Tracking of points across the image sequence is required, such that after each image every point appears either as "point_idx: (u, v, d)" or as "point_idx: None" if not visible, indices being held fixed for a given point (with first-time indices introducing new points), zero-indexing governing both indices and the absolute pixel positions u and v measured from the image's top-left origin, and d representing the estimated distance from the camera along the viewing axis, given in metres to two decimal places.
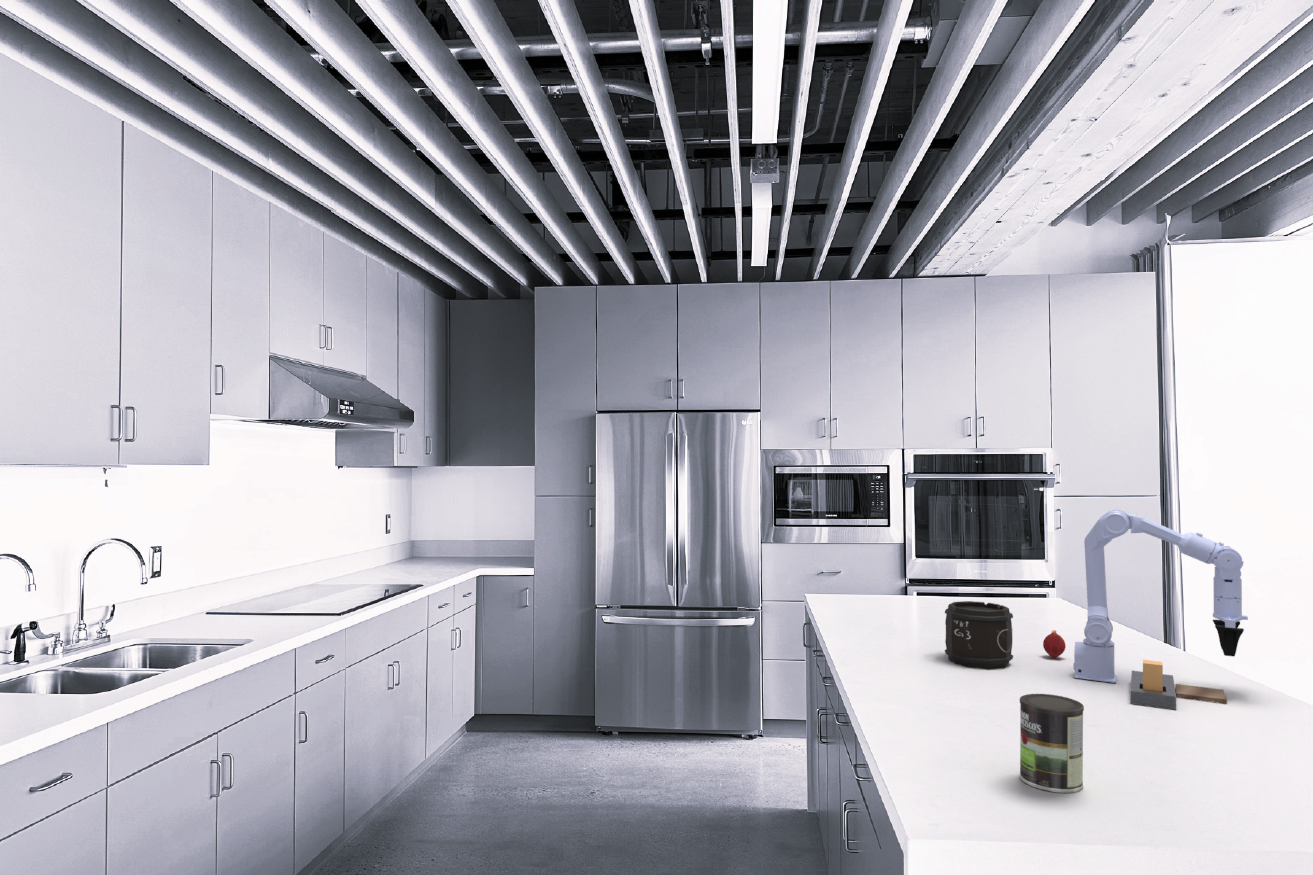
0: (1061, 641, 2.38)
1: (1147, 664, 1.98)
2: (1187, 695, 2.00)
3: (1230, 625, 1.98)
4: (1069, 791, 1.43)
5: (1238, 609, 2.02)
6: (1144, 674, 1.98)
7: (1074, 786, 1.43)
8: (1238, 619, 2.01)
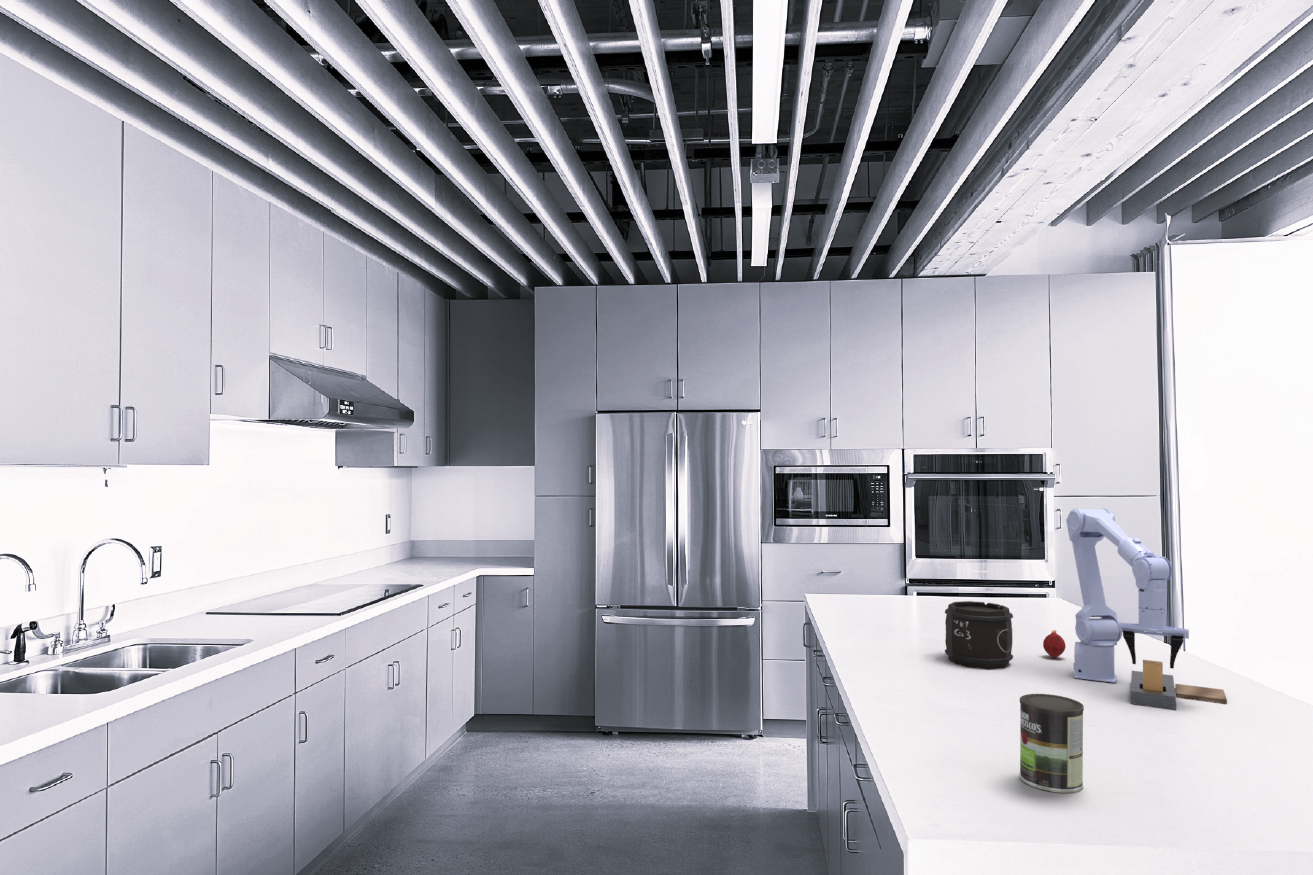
0: (1061, 641, 2.38)
1: (1147, 664, 1.98)
2: (1187, 695, 2.00)
3: (1117, 628, 2.02)
4: (1069, 791, 1.43)
5: (1142, 619, 1.98)
6: (1144, 674, 1.98)
7: (1074, 786, 1.43)
8: (1134, 627, 1.99)
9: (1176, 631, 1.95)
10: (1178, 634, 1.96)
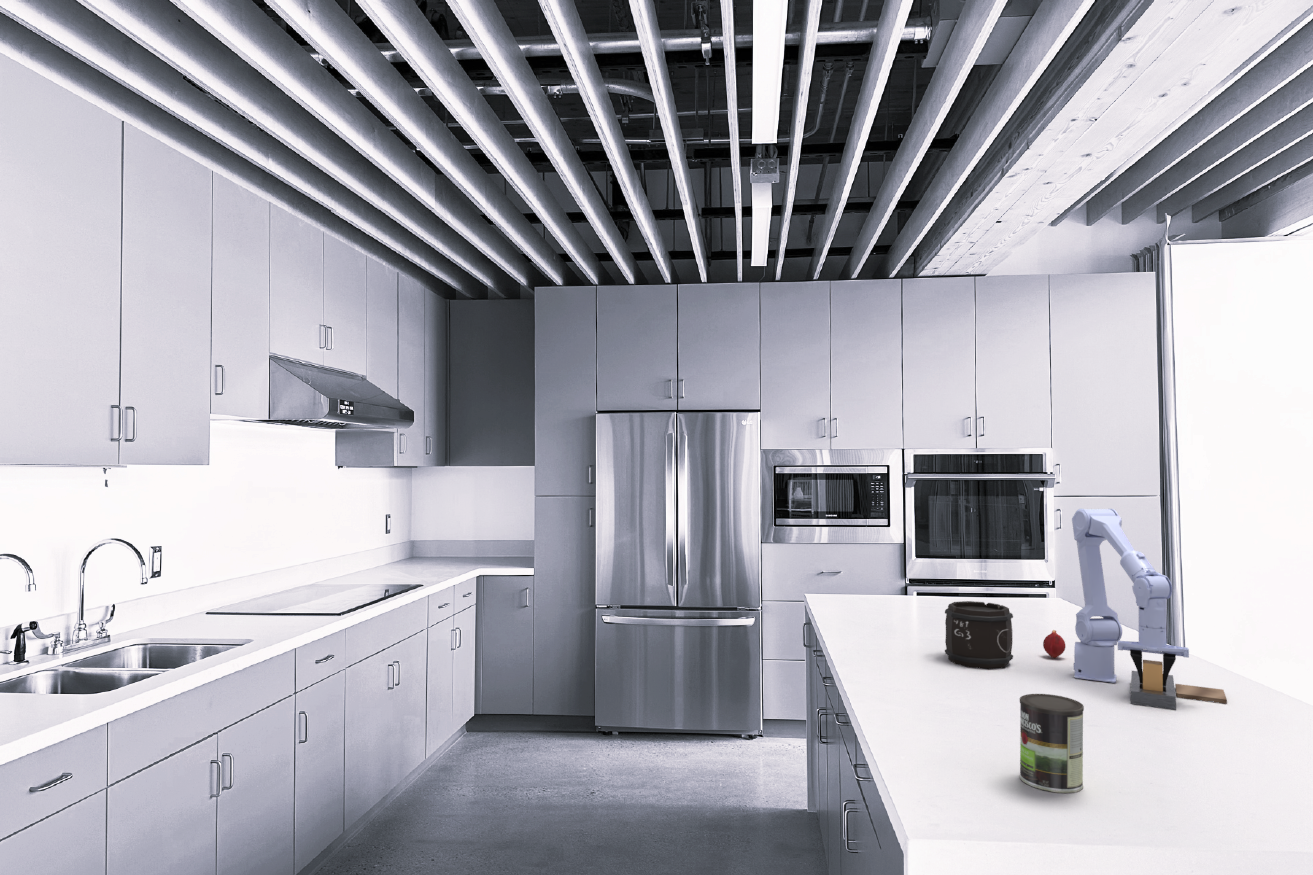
0: (1061, 641, 2.38)
1: (1147, 664, 1.98)
2: (1187, 695, 2.00)
3: None
4: (1069, 791, 1.43)
5: (1142, 637, 1.98)
6: (1144, 674, 1.98)
7: (1074, 786, 1.43)
8: (1134, 645, 1.99)
9: (1176, 650, 1.95)
10: (1178, 653, 1.96)
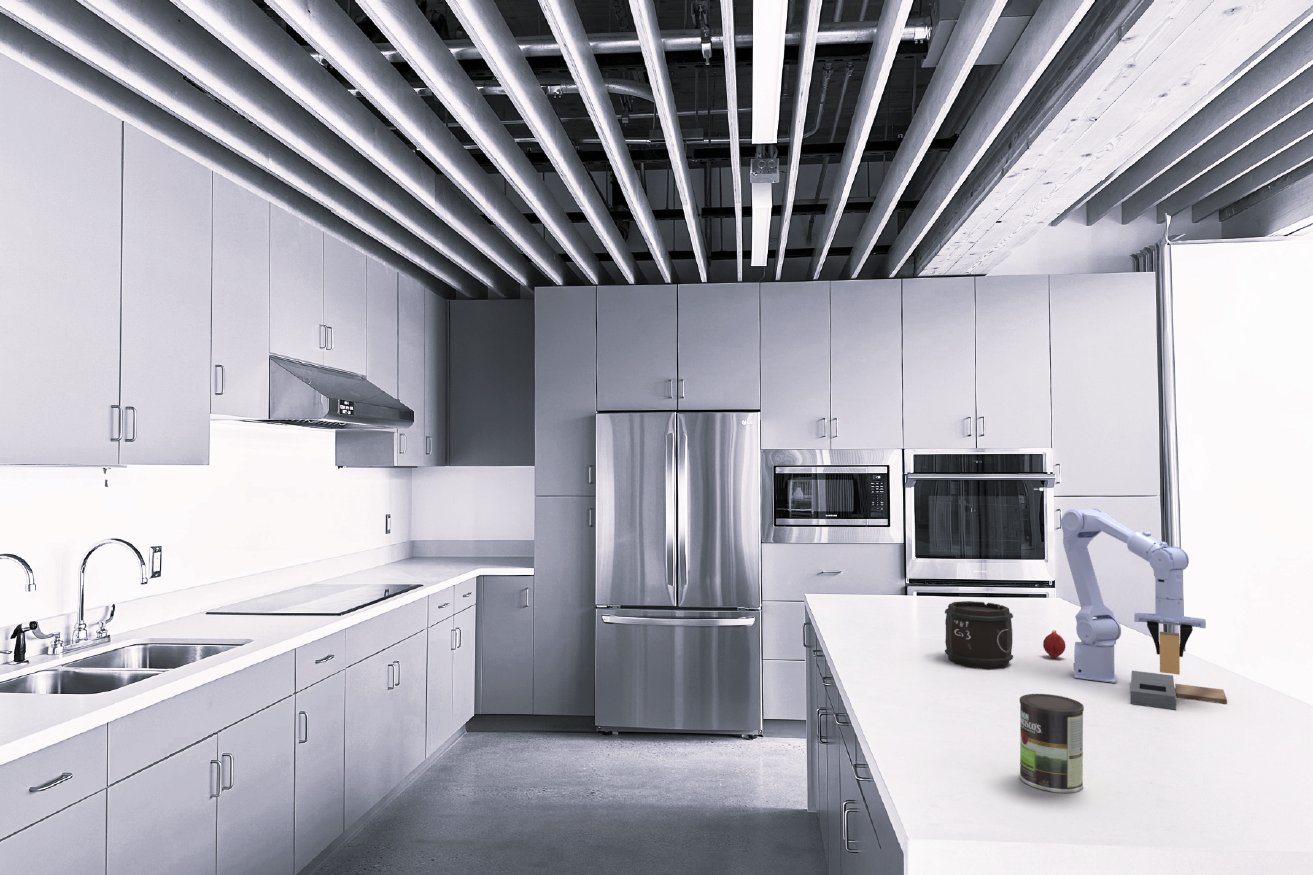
0: (1061, 641, 2.38)
1: (1164, 635, 1.99)
2: (1187, 695, 2.00)
3: (1134, 618, 2.04)
4: (1069, 791, 1.43)
5: (1159, 609, 2.00)
6: (1161, 645, 2.00)
7: (1074, 786, 1.43)
8: (1151, 617, 2.01)
9: (1193, 621, 1.97)
10: (1195, 624, 1.98)
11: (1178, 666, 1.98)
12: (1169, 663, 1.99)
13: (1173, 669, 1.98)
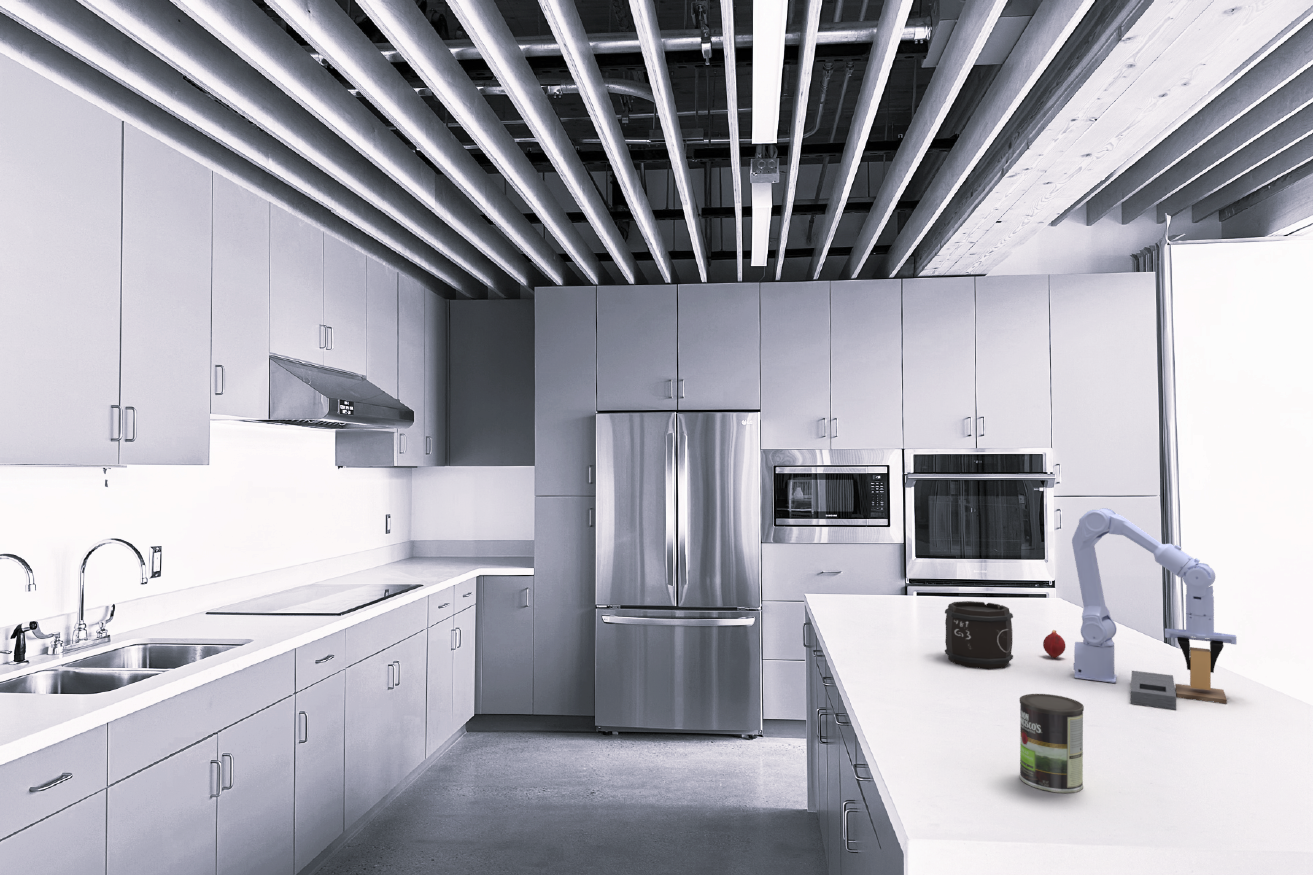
0: (1061, 641, 2.38)
1: (1195, 651, 2.02)
2: (1187, 695, 2.00)
3: None
4: (1069, 791, 1.43)
5: (1190, 625, 2.03)
6: (1192, 661, 2.02)
7: (1074, 786, 1.43)
8: (1182, 633, 2.04)
9: (1224, 637, 2.00)
10: (1225, 640, 2.00)
11: (1209, 682, 2.00)
12: (1200, 678, 2.01)
13: (1204, 685, 2.01)
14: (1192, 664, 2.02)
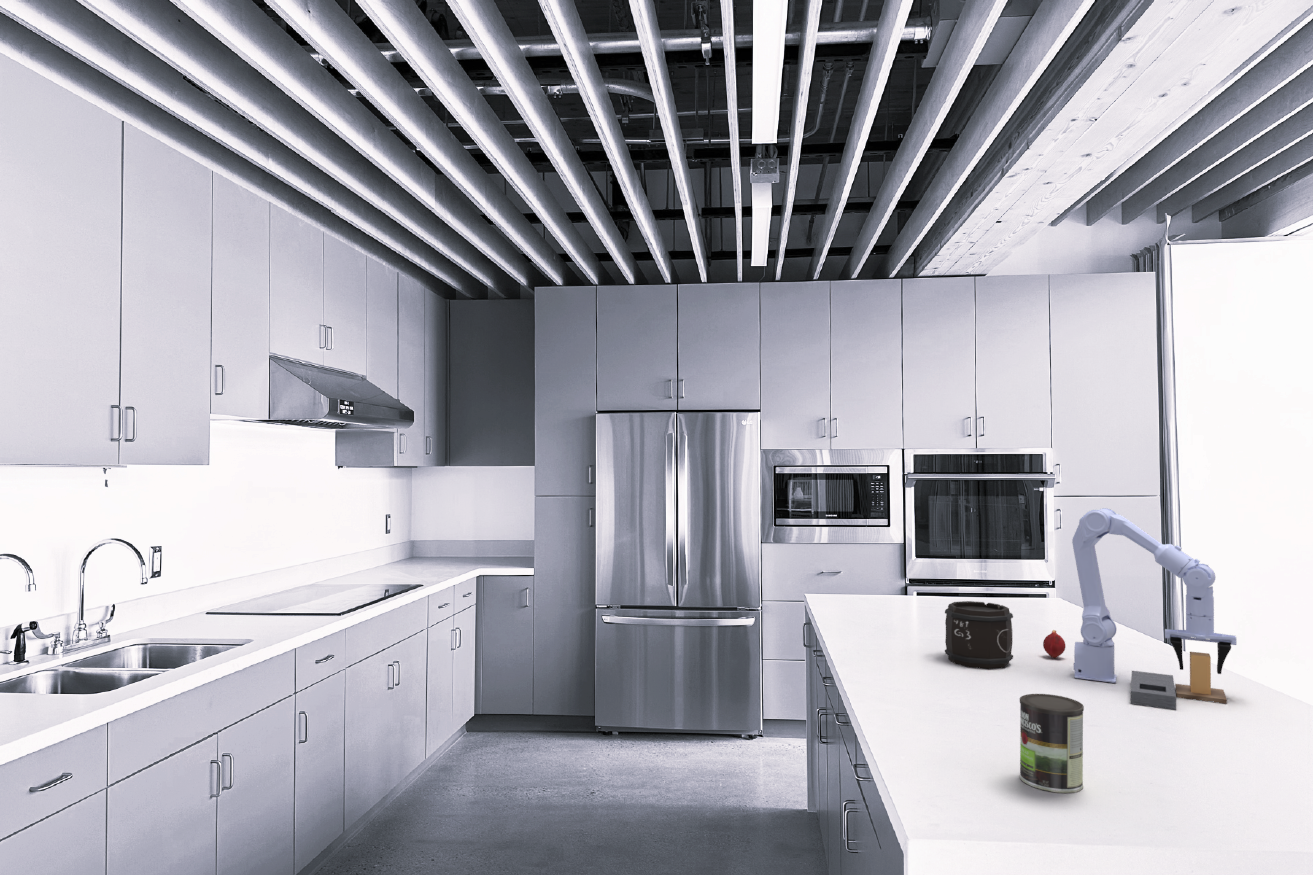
0: (1061, 641, 2.38)
1: (1195, 656, 2.02)
2: (1187, 695, 2.00)
3: None
4: (1069, 791, 1.43)
5: (1190, 626, 2.03)
6: (1192, 665, 2.02)
7: (1074, 786, 1.43)
8: (1182, 633, 2.04)
9: (1224, 638, 2.00)
10: (1225, 640, 2.00)
11: (1209, 686, 2.00)
12: (1200, 683, 2.01)
13: (1204, 689, 2.01)
14: (1192, 669, 2.02)
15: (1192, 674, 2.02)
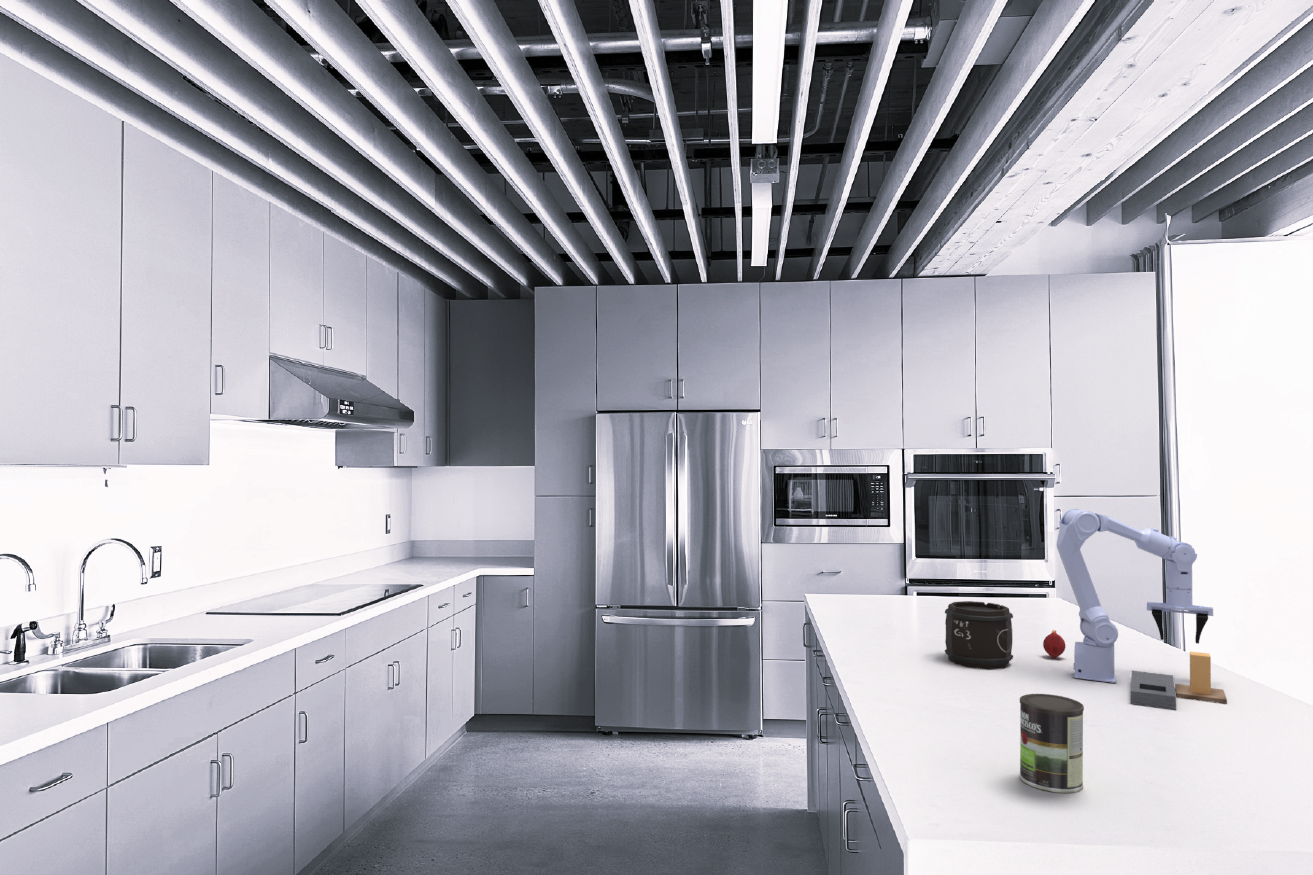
0: (1061, 641, 2.38)
1: (1195, 656, 2.02)
2: (1187, 695, 2.00)
3: None
4: (1069, 791, 1.43)
5: (1170, 598, 2.15)
6: (1192, 665, 2.02)
7: (1074, 786, 1.43)
8: (1162, 606, 2.16)
9: (1201, 609, 2.12)
10: (1203, 612, 2.13)
11: (1209, 686, 2.00)
12: (1200, 683, 2.01)
13: (1204, 689, 2.01)
14: (1192, 669, 2.02)
15: (1192, 674, 2.02)
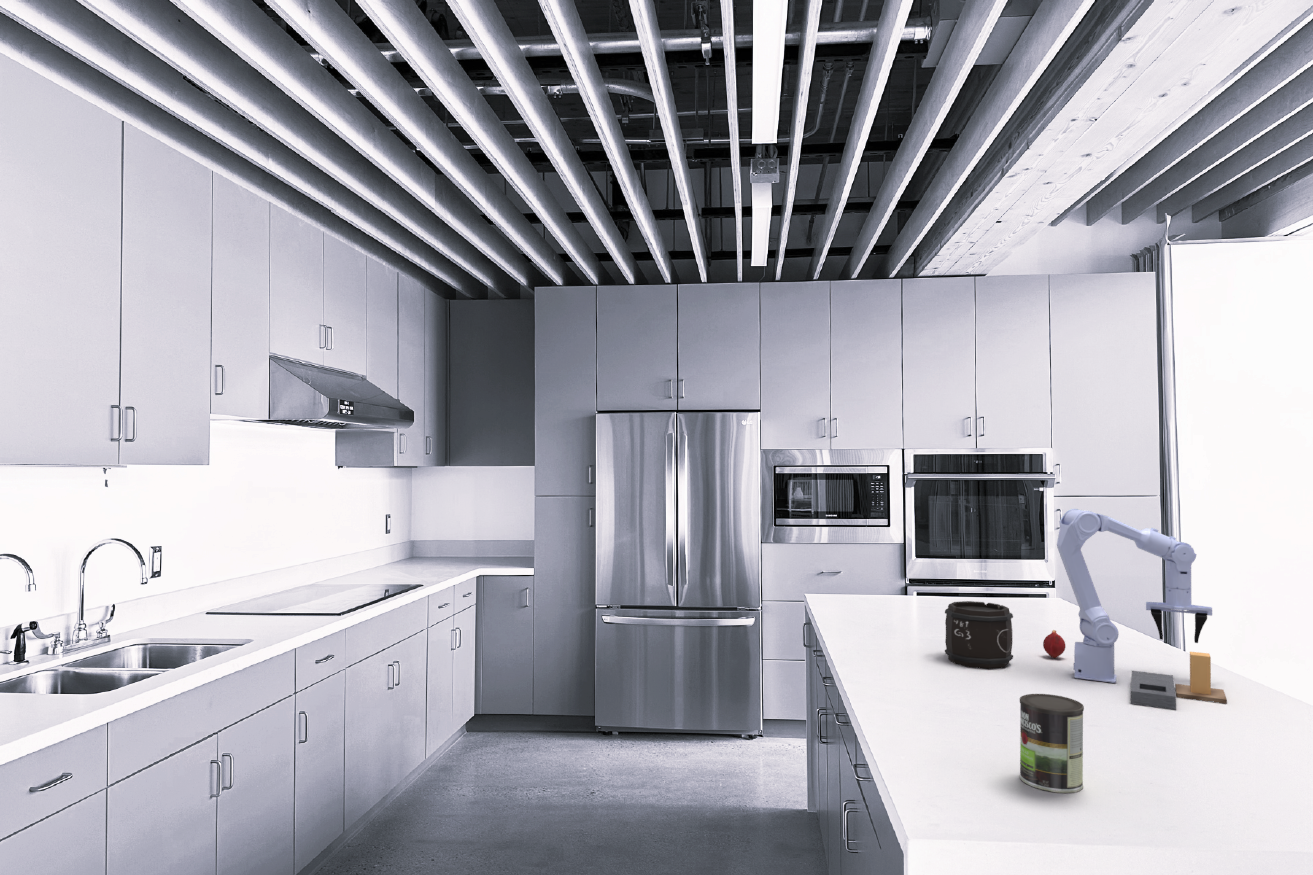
0: (1061, 641, 2.38)
1: (1195, 656, 2.02)
2: (1187, 695, 2.00)
3: None
4: (1069, 791, 1.43)
5: (1169, 598, 2.16)
6: (1192, 665, 2.02)
7: (1074, 786, 1.43)
8: (1161, 605, 2.17)
9: (1200, 609, 2.13)
10: (1202, 611, 2.14)
11: (1209, 686, 2.00)
12: (1200, 683, 2.01)
13: (1204, 689, 2.01)
14: (1192, 669, 2.02)
15: (1192, 674, 2.02)
